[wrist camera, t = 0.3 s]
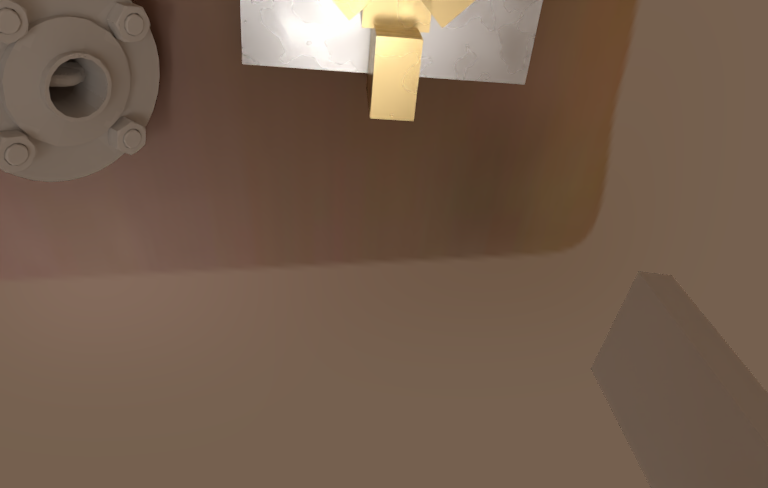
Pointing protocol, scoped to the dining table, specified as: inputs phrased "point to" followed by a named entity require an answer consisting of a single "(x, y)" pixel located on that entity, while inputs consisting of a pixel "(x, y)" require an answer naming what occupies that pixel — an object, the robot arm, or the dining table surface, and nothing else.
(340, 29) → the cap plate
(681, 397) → the robot arm
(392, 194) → the dining table surface
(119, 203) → the dining table surface
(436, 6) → the ring nut
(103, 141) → the mechanical valve
